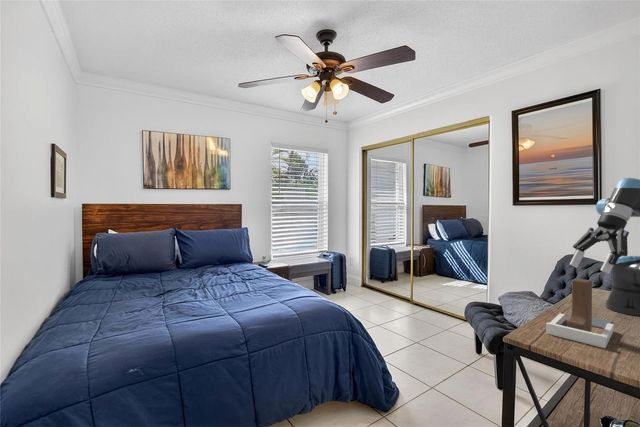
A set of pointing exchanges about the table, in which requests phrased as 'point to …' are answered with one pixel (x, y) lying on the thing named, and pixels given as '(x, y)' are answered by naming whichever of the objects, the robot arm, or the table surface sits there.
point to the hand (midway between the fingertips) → (587, 269)
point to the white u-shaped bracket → (579, 332)
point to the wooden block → (581, 305)
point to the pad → (596, 322)
